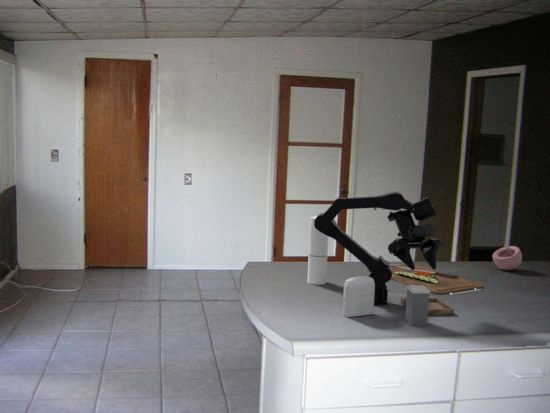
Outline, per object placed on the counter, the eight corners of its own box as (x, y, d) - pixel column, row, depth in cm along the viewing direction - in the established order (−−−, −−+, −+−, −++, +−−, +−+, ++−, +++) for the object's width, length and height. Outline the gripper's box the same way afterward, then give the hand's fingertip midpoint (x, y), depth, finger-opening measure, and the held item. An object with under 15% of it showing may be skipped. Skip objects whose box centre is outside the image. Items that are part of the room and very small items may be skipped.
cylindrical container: (326, 280, 216) (329, 216, 213) (325, 285, 209) (329, 219, 206) (307, 279, 217) (310, 215, 214) (306, 284, 210) (309, 218, 207)
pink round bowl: (485, 267, 250) (487, 242, 249) (507, 266, 254) (509, 241, 252) (504, 273, 239) (506, 247, 237) (526, 272, 242) (529, 246, 241)
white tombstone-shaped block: (347, 318, 171) (349, 279, 170) (340, 314, 175) (342, 276, 174) (375, 315, 176) (377, 277, 174) (367, 311, 180) (370, 273, 178)
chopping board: (361, 270, 238) (361, 263, 237) (407, 264, 251) (408, 258, 251) (440, 298, 199) (441, 290, 199) (490, 290, 213) (491, 282, 212)
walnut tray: (415, 315, 177) (415, 309, 177) (400, 303, 190) (400, 297, 190) (453, 314, 179) (453, 309, 179) (436, 302, 192) (436, 297, 191)
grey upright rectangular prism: (410, 325, 167) (413, 290, 166) (404, 320, 172) (407, 285, 171) (427, 325, 168) (430, 290, 166) (420, 319, 173) (423, 285, 171)
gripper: (400, 213, 173) (419, 257, 165) (443, 215, 182) (462, 257, 175) (379, 231, 181) (396, 274, 173) (421, 232, 190) (439, 273, 183)
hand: (424, 269), depth 176 cm, fingers open, 9 cm apart
